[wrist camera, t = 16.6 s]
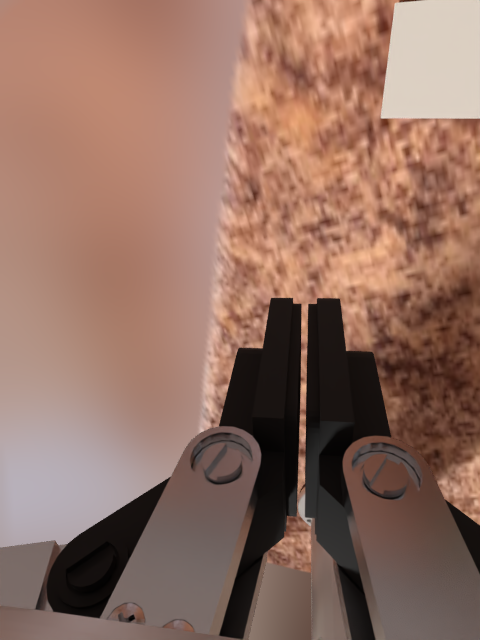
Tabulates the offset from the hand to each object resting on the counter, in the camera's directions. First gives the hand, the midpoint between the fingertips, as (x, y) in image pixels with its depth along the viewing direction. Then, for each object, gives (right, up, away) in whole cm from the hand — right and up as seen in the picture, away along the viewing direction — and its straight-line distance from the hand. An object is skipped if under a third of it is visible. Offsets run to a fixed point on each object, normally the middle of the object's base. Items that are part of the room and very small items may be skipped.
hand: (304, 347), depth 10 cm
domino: (+6, +14, +11) cm, 19 cm away
